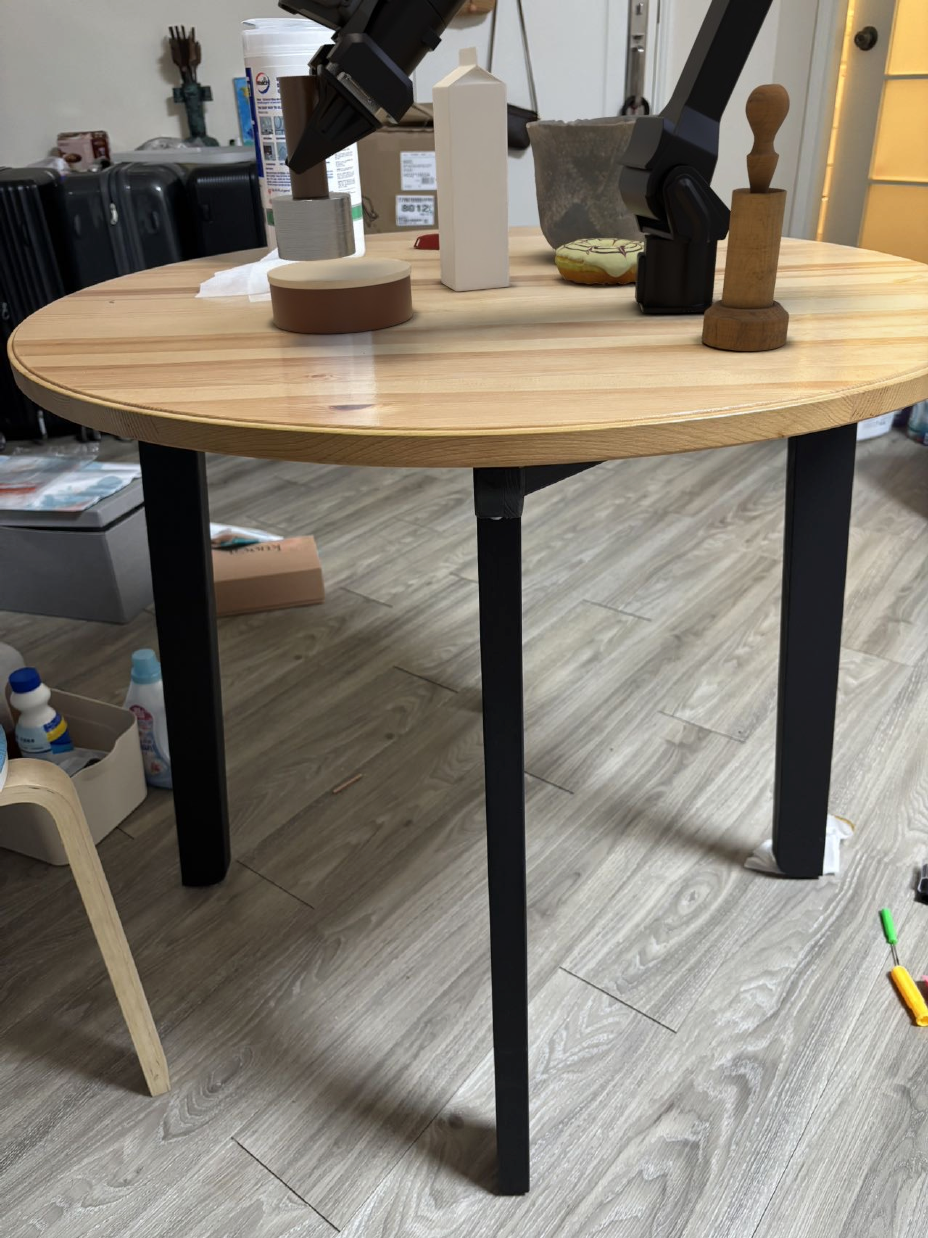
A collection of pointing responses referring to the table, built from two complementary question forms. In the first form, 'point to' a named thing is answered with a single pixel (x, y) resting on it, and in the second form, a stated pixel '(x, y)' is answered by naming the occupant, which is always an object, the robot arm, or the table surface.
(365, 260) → the cake
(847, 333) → the table surface
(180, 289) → the table surface
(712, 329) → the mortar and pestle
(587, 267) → the decorated donut
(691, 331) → the table surface
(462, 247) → the milk
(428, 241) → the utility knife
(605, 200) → the grey stone pot
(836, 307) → the table surface
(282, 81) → the brown and silver tamper
